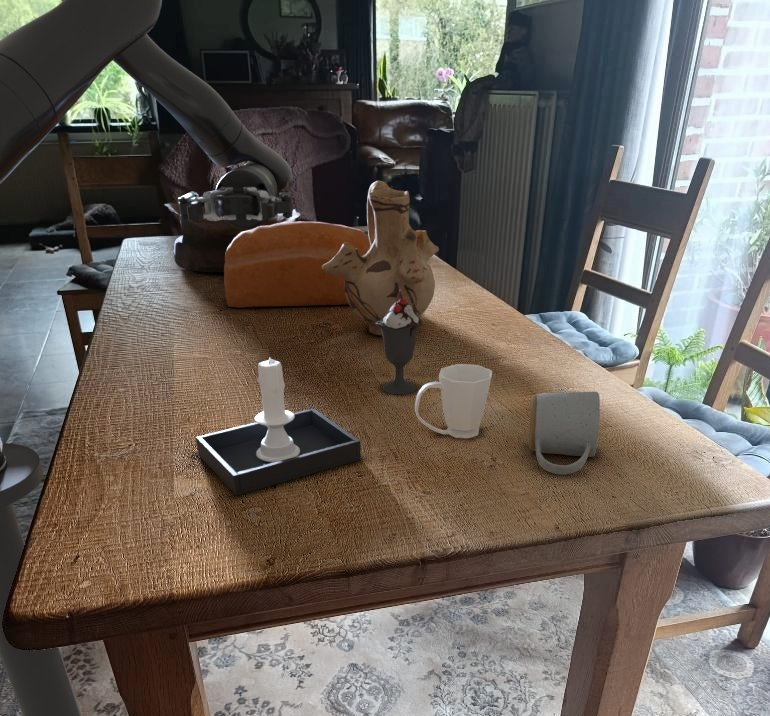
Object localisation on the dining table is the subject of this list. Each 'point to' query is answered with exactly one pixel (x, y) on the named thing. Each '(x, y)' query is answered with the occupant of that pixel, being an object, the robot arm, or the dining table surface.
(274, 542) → the dining table surface
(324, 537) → the dining table surface
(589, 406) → the ceramic mug
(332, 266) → the ceramic vessel
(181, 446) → the dining table surface
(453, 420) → the cup
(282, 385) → the candle
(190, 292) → the dining table surface
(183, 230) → the bowl
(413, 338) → the sundae
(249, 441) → the tray
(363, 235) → the bread
